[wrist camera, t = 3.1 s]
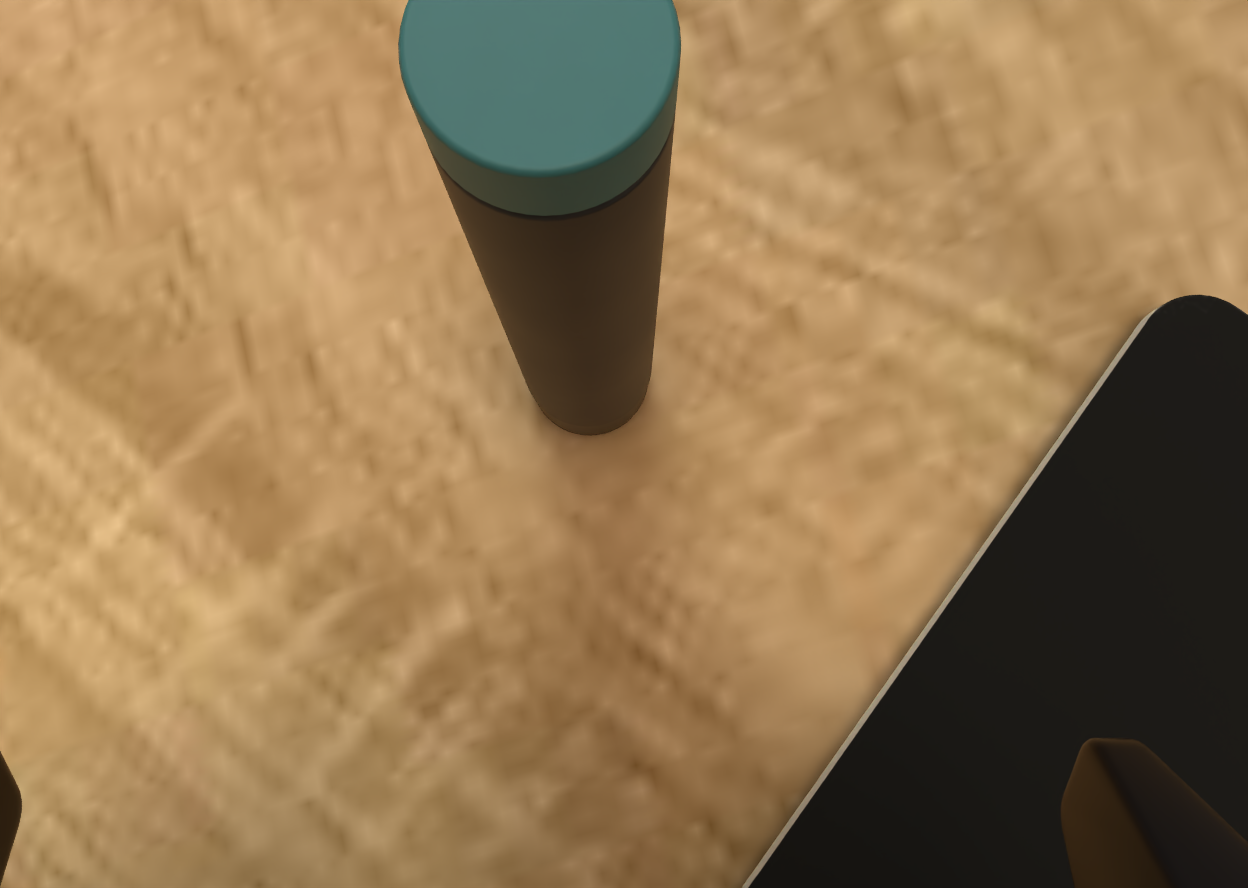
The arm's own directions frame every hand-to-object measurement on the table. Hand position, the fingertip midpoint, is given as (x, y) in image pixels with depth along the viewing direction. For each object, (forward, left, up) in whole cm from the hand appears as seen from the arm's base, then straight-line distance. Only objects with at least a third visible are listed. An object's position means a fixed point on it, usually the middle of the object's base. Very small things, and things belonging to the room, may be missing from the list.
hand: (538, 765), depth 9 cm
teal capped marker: (+5, +3, -12) cm, 14 cm away
